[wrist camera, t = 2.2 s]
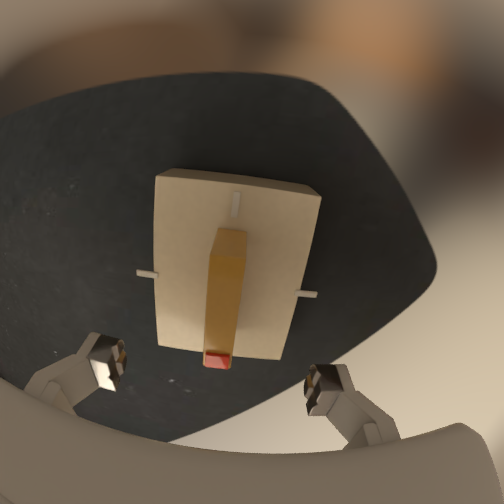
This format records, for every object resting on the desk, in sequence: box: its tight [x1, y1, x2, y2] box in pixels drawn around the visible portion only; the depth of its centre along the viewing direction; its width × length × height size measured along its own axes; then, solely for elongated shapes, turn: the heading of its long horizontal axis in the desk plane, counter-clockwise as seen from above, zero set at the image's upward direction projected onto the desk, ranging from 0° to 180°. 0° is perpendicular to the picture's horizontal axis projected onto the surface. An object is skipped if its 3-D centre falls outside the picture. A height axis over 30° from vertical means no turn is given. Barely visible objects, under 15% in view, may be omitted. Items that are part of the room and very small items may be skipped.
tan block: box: [137, 168, 321, 360], centre depth 18 cm, size 12×11×4 cm
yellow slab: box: [203, 228, 247, 369], centre depth 15 cm, size 7×2×4 cm, turn 172°
